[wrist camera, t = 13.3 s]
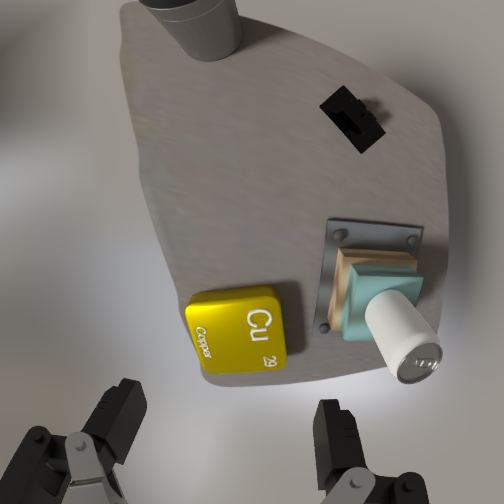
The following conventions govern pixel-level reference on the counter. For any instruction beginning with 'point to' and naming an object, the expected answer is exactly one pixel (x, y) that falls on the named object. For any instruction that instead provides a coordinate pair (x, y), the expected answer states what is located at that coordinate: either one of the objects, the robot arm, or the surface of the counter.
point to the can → (403, 337)
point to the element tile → (238, 329)
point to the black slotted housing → (352, 119)
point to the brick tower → (363, 274)
